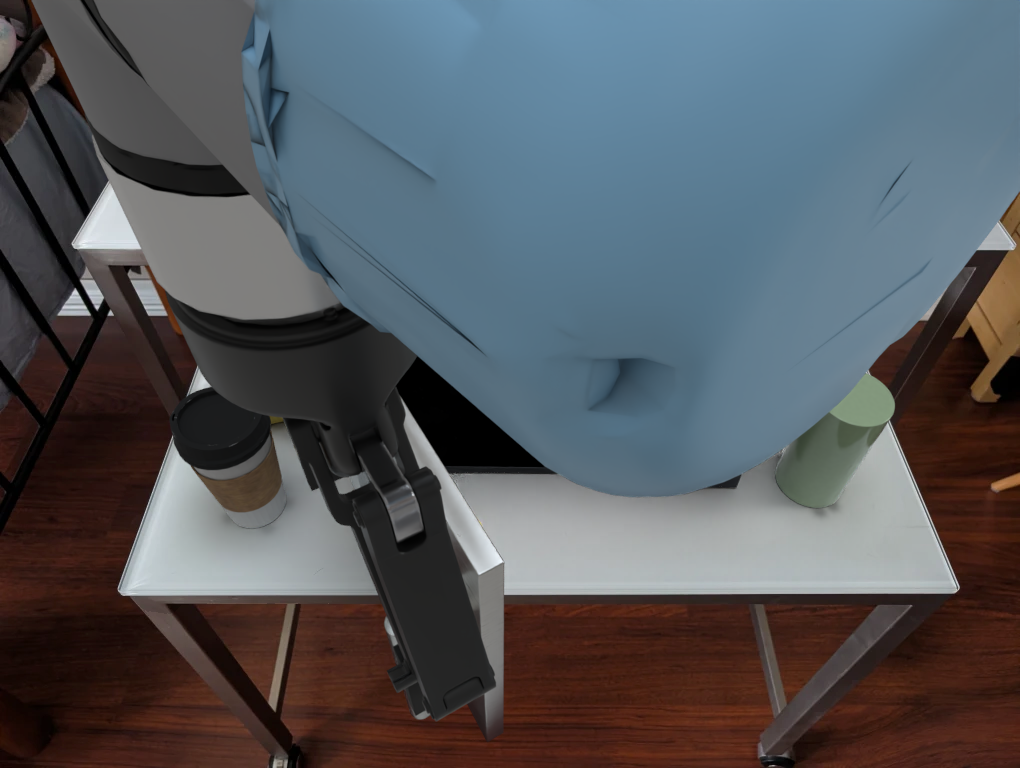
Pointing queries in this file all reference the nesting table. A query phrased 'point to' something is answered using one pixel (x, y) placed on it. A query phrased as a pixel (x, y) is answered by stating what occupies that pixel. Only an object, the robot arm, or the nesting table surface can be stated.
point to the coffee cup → (231, 456)
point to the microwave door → (466, 578)
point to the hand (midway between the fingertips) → (380, 574)
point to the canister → (835, 446)
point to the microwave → (467, 429)
